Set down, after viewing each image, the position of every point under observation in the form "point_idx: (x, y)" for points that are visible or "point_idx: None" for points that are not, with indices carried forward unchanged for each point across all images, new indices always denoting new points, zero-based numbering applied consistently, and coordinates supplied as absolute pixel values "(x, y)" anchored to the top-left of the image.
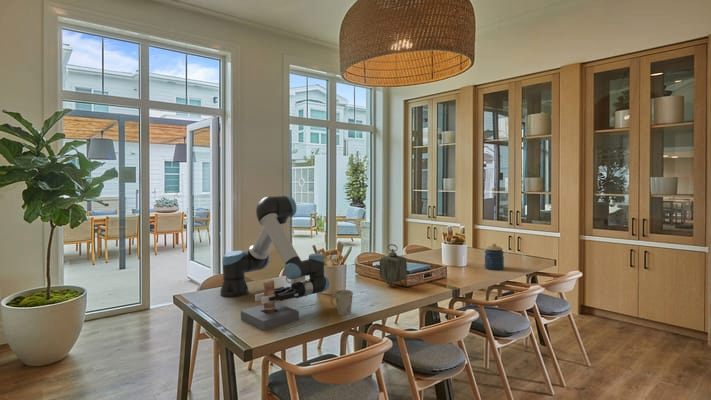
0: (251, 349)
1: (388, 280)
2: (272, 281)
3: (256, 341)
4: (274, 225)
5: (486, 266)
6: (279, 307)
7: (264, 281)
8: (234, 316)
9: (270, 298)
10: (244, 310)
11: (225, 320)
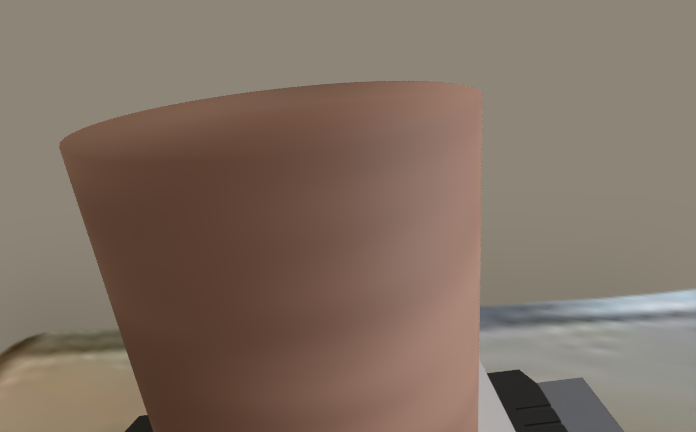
0: (9, 349)
1: None
2: (157, 137)
3: (45, 394)
4: None
5: None
6: None
7: (392, 83)
8: (693, 429)
9: (137, 429)
10: (569, 403)
11: (585, 357)
